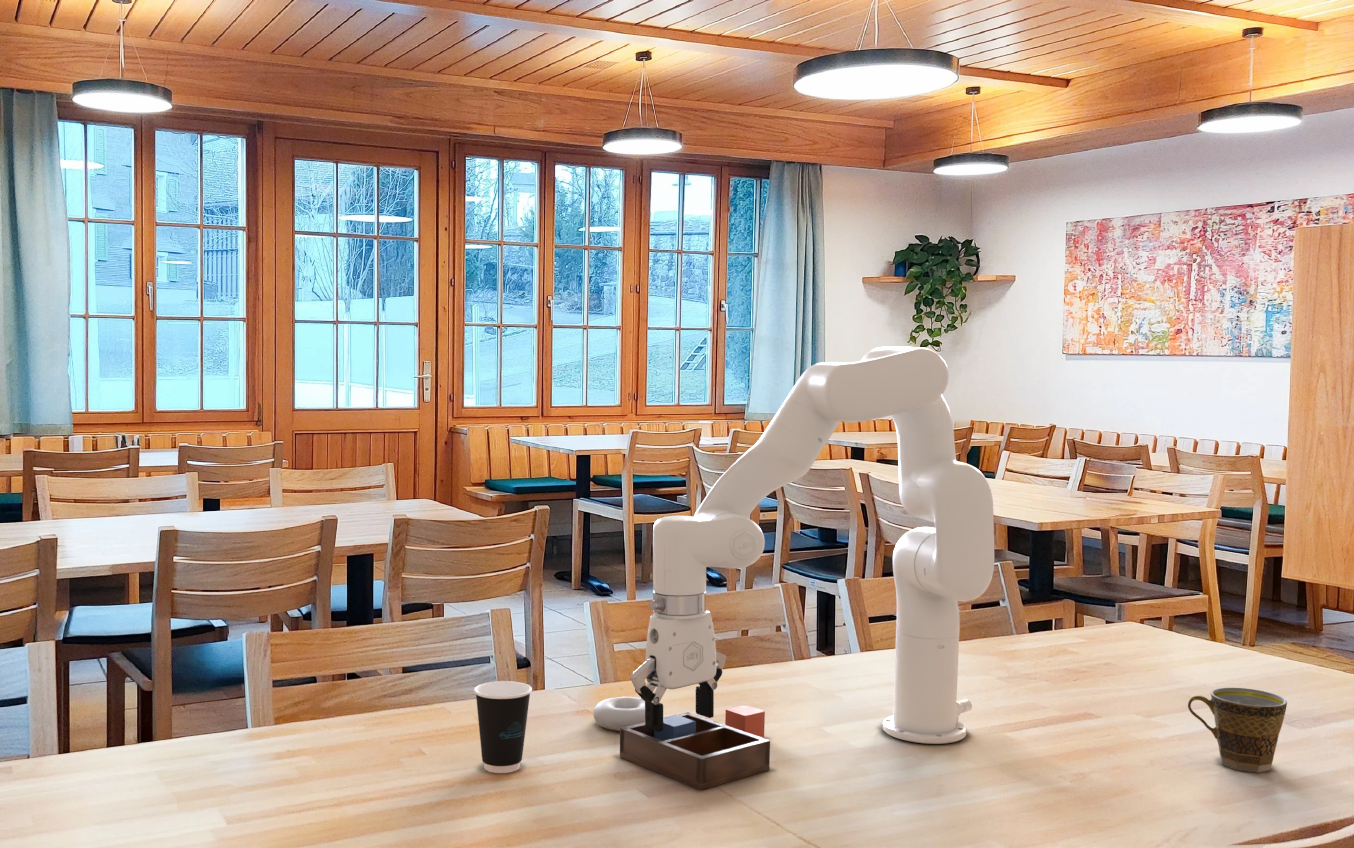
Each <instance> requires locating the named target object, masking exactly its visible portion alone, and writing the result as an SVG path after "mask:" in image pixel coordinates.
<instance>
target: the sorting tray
mask: <svg viewBox="0 0 1354 848" xmlns="http://www.w3.org/2000/svg"><path fill="white" fill-rule="evenodd" d="M677 715H679V716H682V717H685V718H687V719H690V720H693V721H696V733H693V734H689V735H685V736H681V737H677V738H673V739H669V740H665V741H661V740H659V739H656V738H654V730H651V729H648V728H646V726H645V722H644V723H640V724H636V725H631V726H627V727H623V728H620V731H619V758H621V759H623V760H626V761H629V762H631V763H633V764H635V765H638V766H641V767H643V768H646V769H648V770H650V771H652V772H655V773H658V774H660V775H662V776H664V777H666V778H667V777H668V778H670V779H673V780H675V781H677V782H680V783H682V784H685V785H687V786H689V787H691V788H695V789H696V790H700V791H703V790H705V789H706V790H707V789H710V788H712V787H716V786H719V785H723V784H726V783H727V784H728V783H730V782H733V781H737V780H741V779H744V778H747V777H750V776H753V775H754V776H755V775H757V774H760V773H763V772H767V771H770V760H771V740H770V739H767V738H765V737H764V738H762V737H759V736H756V735H753V734H750V733H747V732H744V731H741V730H738V729H735V728H732V727H730V726H727V725H725V723H721V722H718V721H715V720H712V719H710V718H707V717H704V716H702V715H698V714H696V713H692V712H689V711H687V712H682V713H679V714H677Z"/></svg>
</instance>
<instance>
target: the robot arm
mask: <svg viewBox="0 0 1354 848" xmlns="http://www.w3.org/2000/svg"><path fill="white" fill-rule="evenodd" d="M949 379H950V372H949V368H948V365H947V363H946V361H945V360H944V359H943V357H942V356H941V355H940V354H939V353H938V352H936V351H934V350H932V349H930V348H927V347H920V346H881V347H880V346H879V347H875V348H872V349H871V350H870V351H868V352H866V353H865V354H864V355H863V356H862V358H861V359H860V361H853V362H839V361H834V362H833V361H825V362H817V363H815V364H812V365H811V366H809V367H808V368H807V369H806V370H805V371H803V372H802V373H801V375H800V376H799V378H798V379H797V381H796V382H795V384H794V385H793V387H792V389H791V390H790V391H789V393H788V395H787V396H786V397H785V399H784V401H783V402H782V404H781V405H780V407H779V409H778V410H777V411H776V413H775V415H774V416H773V418H772V419H771V421H770V422H769V424H768V425H767V427H766V429H764V431H763V433H762V435H761V436H760V437H759V438H758V439H757V441H756V442H755V443H754V445H752V446H751V447H750V448H748V450H746V451H745V452H744V453H743V454H741V456H740V457H739V458H738V459H737V460H736V461H735V462H734V463H733V464H732V465H731V466H729V467H728V468H727V469H726V470H725V471H724V472H723V473H722V475H720V476H719V478H718V479H717V481H716V482H715V483H714V484H713V486H711V488H710V490H709V491H708V493H707V494H706V496H705V498H704V499H703V500H702V502H701V503H700V505H699V507H698V508H697V510H696V511H695V513H694V516H691V515H669V516H663V517H660V518H658V519H657V520H656V521H655V522H654V524H653V527H652V600H650V601H649V603H648V607H649V609H650V611H652V612H653V613H652V614H651V615H650V617H649V621H648V628H647V635H646V643H645V661H644V662H643V663H642V664H641V665H640V666H638V667H637V668H636V670H634V671H633V672H632V673H631V674H630V677H629V678H630V681H631V683H632V685H633V687H634V691H635V693H636V694H637V695H638V696H639V698H641V699H642V700H643V701H645V726H646V728H648V729H651V730H654V731H656V732H661V731H663V718H664V703H662V702H661V700H662V698H663V696H664V694H665V693H666V691H667V690H677V689H678V690H679V689H681V688H682V689H683V688H686V687H690V686H693V685H698V686H695V714H696V715H698V716H701V717H704V718H707V719H711V718H713V717H714V714H715V713H714V711H715V707H714V704H715V701H714V700H715V699H714V696H715V694H714V693H715V690H716V689H717V688H718V682H719V680H720V678H721V677H722V675H723V670H724V666H725V663H726V661H727V656H726V654H724V653H721V652H719V651H718V650H717V647H716V636H715V635H716V634H715V628H714V624H713V619H712V618H713V617H712V614H711V611H710V610H709V609H707V568H722V569H734V570H735V569H743V568H747V567H749V566H752V565H753V564H755V563H756V562H757V561H758V560H759V559H760V558H761V556H762V555H763V552H764V550H765V545H766V539H765V535H764V533H763V531H762V529H761V527H760V526H759V525H758V524H757V522H755V521H754V520H752V519H750V518H749V517H750V515H751V514H752V512H753V511H754V510H755V508H756V507H757V506H758V505H759V504H760V503H761V502H762V501H763V500H764V499H765V498H766V497H767V496H769V495H770V494H771V493H773V492H775V491H776V490H778V489H780V488H782V487H784V486H787V485H789V484H792V483H793V482H796V481H797V480H799V479H800V478H802V477H804V476H805V475H807V473H809V471H810V470H811V468H812V466H813V465H814V463H815V461H816V460H817V459H818V457H819V456H820V453H821V452H822V450H823V449H824V447H825V446H826V445H827V444H828V441H829V440H830V438H831V437H832V435H833V434H834V432H835V431H836V429H837V428H838V426H839V425H840V423H851V424H853V423H855V424H856V423H861V422H868V421H874V420H877V419H882V418H886V417H891V418H892V419H891V420H892V421H893V424H894V428H895V432H896V441H897V454H898V455H897V456H898V457H897V459H898V460H897V462H898V463H897V464H898V465H897V466H898V491H899V492H898V493H899V500H900V504H901V506H902V507H903V509H904V510H905V511H906V512H907V513H908V514H909V515H910V516H913V517H914V518H919V519H921V520H925V521H928V522H932V523H934V527H932V526H920V527H919V526H918V527H914V528H912V529H910V530H908V531H906V532H905V533H904V534H902V535H901V536H900V538H898V540H897V542H896V544H895V546H894V549H893V553H892V572H893V573H892V575H893V580H894V587H895V597H896V625H895V646H894V647H895V651H894V676H893V677H894V678H893V679H894V681H893V707H892V709H893V710H892V715H889V716H887V717H886V718H884V719H883V720H882V730H883V731H884V733H886V734H887V735H889V736H890V737H893V738H895V739H898V740H902V741H906V742H912V743H917V744H919V743H920V744H930V745H938V744H939V745H941V744H942V745H943V744H950V743H955V742H958V741H961V740H963V739H965V738H966V735H967V727H966V725H965V724H963V723H962V722H961V721H959V717H960V716H961V714H964V713H968V712H970V711H972V709H973V704H972V702H971V701H970V699H967V698H966V699H962V700H958V680H959V679H958V678H959V675H958V674H959V653H960V651H959V650H960V632H961V631H960V629H961V628H960V627H961V624H960V623H961V620H960V619H961V618H960V609H959V603H958V602H971V601H975V600H976V599H978V598H980V597H981V596H982V595H983V594H984V593H985V592H986V591H987V590H988V588H989V586H990V584H991V582H992V579H993V575H994V570H995V529H994V528H995V524H994V523H995V521H994V520H995V519H994V499H993V493H992V489H991V487H990V484H989V481H988V480H987V478H986V477H985V475H984V474H983V473H982V472H981V471H980V470H979V469H978V468H977V467H975V466H973V465H971V464H969V463H966V462H961V461H957V453H956V442H955V432H954V431H955V430H954V422H953V418H952V413H951V411H950V407H949V405H948V403H947V402H946V400H945V398H944V396H943V394H944V393H945V391H946V389H947V387H948V384H949ZM646 681H647V684H646Z"/></svg>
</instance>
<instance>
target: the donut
mask: <svg viewBox="0 0 1354 848" xmlns="http://www.w3.org/2000/svg"><path fill="white" fill-rule="evenodd" d="M592 715H593V719H594V721H595V723H597V725H598V726H600V727H602V728H603V729H606V730H609V731H616V732H620V728H623V727H627V726H631V725H636V724H640V723H644V722H645V701H643V700H642V699H641V697H636V696H615V697H609V698H606V699H603V700H601V701H600V702H598V703H597V704H596V706H595V707H594V709H593V713H592Z"/></svg>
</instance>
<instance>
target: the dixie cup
mask: <svg viewBox="0 0 1354 848" xmlns="http://www.w3.org/2000/svg"><path fill="white" fill-rule="evenodd" d="M532 692H533V688H532V686H531V685H530V684H527V683H525V682H519V681H513V680H511V681H510V680H500V681H499V680H498V681H497V680H496V681H489V682H484V683H481V684H478V685H476V686H475V687H474V688H473V693H474V695H475V698H476V700H475V701H476V709H477V718H478V731H479V739H480V751H481V760H482V763H483V767H484V770H485V771H487V772H489V773H494V774H509V773H514V772H516V771H518V770H519V769H520V766H521V762H522V760H523V754H524V745H525V738H526V737H525V736H526V729H527V721H528V713H529V705H530V697H531V694H532Z"/></svg>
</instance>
